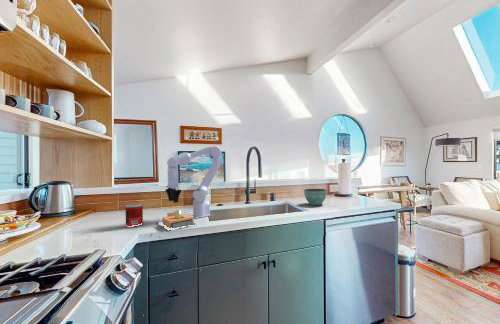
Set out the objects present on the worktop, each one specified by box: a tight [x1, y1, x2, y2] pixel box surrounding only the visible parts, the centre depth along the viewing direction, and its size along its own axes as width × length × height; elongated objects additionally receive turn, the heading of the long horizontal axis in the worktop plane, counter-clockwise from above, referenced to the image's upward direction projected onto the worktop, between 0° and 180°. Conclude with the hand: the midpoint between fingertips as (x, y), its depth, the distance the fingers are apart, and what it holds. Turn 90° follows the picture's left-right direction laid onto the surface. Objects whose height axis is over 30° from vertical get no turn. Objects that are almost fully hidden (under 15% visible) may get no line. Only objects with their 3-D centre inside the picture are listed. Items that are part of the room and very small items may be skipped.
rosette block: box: [171, 220, 196, 228], centre depth 112 cm, size 14×18×3 cm
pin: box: [174, 209, 183, 219], centre depth 108 cm, size 3×3×7 cm
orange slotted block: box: [161, 211, 195, 228], centre depth 109 cm, size 12×11×5 cm
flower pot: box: [303, 188, 327, 206], centre depth 157 cm, size 16×16×11 cm
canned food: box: [125, 202, 144, 226], centre depth 111 cm, size 8×8×11 cm
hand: (173, 201), depth 123 cm, fingers open, 7 cm apart
